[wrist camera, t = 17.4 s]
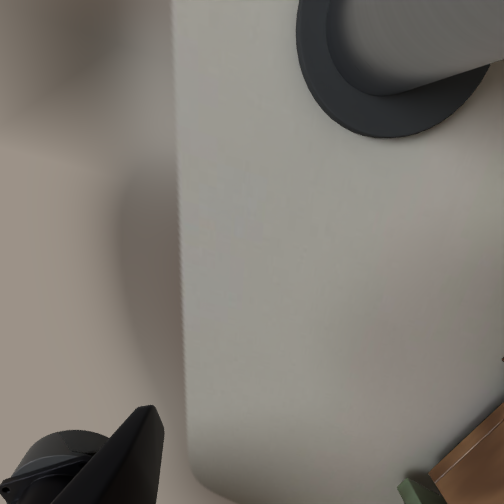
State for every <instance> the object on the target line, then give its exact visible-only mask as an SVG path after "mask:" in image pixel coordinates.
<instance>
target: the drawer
mask: <svg viewBox="0 0 504 504" xmlns="http://www.w3.org/2000/svg"><path fill="white" fill-rule="evenodd" d="M428 474H429V475H430V477H431V478H432V480H433V482H434V483H435V484H436V486H437V488H438V489H439V491H440V492H441V494H442V496H443V497H442V496H440V495H439V494H437V493H435V492H433V491H431V490H429V489H427V488H426V487H424V486H422V485H420V484H418V483H416V482H414V481H413V480H411V479H409V478H406V479H405V480H404V481H403V482H402V483H401V484H400V485H399V486H398V487H397V489H398V491H399V493H400V495H401V497H402V499H403V501H404V503H405V504H504V402H503V403H502V404H501V405H500V406H499V407H498V408H497V409H496V410H495V411H494V412H492V413H491V414H490V415H489V416H488V417H487V418H486V419H485V420H484V421H483V422H482V423H481V424H480V425H479V426H478V427H476V428H475V429H474V430H473V431H472V432H471V433H470V434H469V435H468V436H467V437H466V438H465V439H464V440H463V441H462V442H460V443H459V444H458V445H457V446H456V447H455V448H454V449H453V450H452V451H451V452H450V453H449V454H448V455H447V456H446V457H444V458H443V459H442V460H441V461H440V462H439V463H438V464H437V465H436V466H435V467H434V468H433V469H432V470H431V471H430V472H428Z"/></svg>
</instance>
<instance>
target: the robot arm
mask: <svg viewBox="0 0 504 504" xmlns="http://www.w3.org/2000/svg"><path fill="white" fill-rule="evenodd" d="M163 442H164V427H163V424H162V421H161V419H160V417H159V414H158V412H157V410H156V408H155V406H153V405H148V406H141V407H138V408H137V409H135V411H134V412H133V413H132V414H131V415H130V416H129V417H128V418H127V419H126V420H125V422H124V423H123V424H122V425H121V426H120V427H119V428H118V429H117V431H116V432H115V433H114V434H113V435H112V436H111V437H110V438H109V439H108V440H107V442H106V443H105V444H104V445H103V446H102V447H101V448H100V449H99V450H98V452H97V453H96V454H95V455H94V456H93V457H91V456H89V455H82V456H79V457H76V458H72V459H69V460H66V461H63V462H59V463H56V464H53V465H50V466H47V467H43V468H40V469H37V470H34V471H30V472H27V473H24V474H21V475H18V476H14V477H11V478H8V479H5V480H3V482H2V483H1V484H0V494H1V495H2V497H3V498H4V499H5V500H6V502H7V503H8V504H156V498H157V492H158V484H159V475H160V466H161V459H162V451H163Z"/></svg>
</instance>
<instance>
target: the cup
mask: <svg viewBox="0 0 504 504" xmlns="http://www.w3.org/2000/svg"><path fill="white" fill-rule="evenodd" d="M326 36H327V44H328V48H329V53H330V55H331V58H332V61H333V63H334V65H335V67H336V69H337V70H338V72H339V73H340V74H341V76H342V77H343V78H344V79H345V80H346V81H347V82H348V83H349V84H350V85H351V86H353V87H354V88H356V89H358V90H359V91H361V92H364V93H366V94H370V95H375V96H390V95H394V94H398V93H401V92H404V91H407V90H411V89H414V88H417V87H420V86H423V85H426V84H429V83H432V82H435V81H438V80H441V79H444V78H447V77H450V76H453V75H457V74H460V73H463V72H466V71H469V70H472V69H475V68H478V67H481V66H484V65H487V64H490V63H493V62H496V61H499V60H503V59H504V0H331V1H330V4H329V9H328V13H327V22H326Z"/></svg>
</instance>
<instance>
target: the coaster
mask: <svg viewBox="0 0 504 504" xmlns="http://www.w3.org/2000/svg"><path fill="white" fill-rule="evenodd" d="M330 1H331V0H299V6H298V12H297V21H296V45H297V52H298V58H299V63H300V67H301V70H302V74H303V77H304V79H305V81H306V84H307V86H308V88H309V90H310V92H311V94H312V95H313V97H314V99H315V100H316V102H317V103H318V104H319V106H320V107H321V108H322V109H323V111H324V112H325V113H326V114H327V115H328V116H330V117H331V118H332V119H333V120H334V121H335V122H337V123H338V124H340V125H341V126H342V127H344V128H346V129H348V130H350V131H352V132H355V133H357V134H360V135H363V136H368V137H374V138H396V137H405V136H409V135H413V134H417V133H419V132H422V131H424V130H427V129H429V128H431V127H433V126H435V125H437V124H439V123H440V122H442V121H443V120H445V119H446V118H447V117H449V116H450V115H452V114H453V113H454V112H455V111H456V110H457V109H458V108H459V107H460V106H462V105H463V103H464V102H465V101H466V100H467V99H468V98H469V97H470V96H471V95H472V93H473V92H474V91H475V89H476V88H477V86H478V85H479V84H480V82H481V81H482V79H483V77H484V75H485V74H486V72H487V70H488V68H489V66H490V64H491V63H490V64H487V65H484V66H481V67H478V68H475V69H472V70H469V71H466V72H463V73H460V74H457V75H453V76H450V77H447V78H444V79H441V80H438V81H435V82H432V83H429V84H426V85H423V86H420V87H417V88H414V89H411V90H407V91H404V92H401V93H398V94H394V95H390V96H375V95H370V94H366V93H364V92H361V91H359V90H358V89H356V88H354V87H353V86H351V85H350V84H349V83H348V82H347V81H346V80H345V79H344V78H343V77H342V76H341V74H340V73H339V72H338V70H337V69H336V67H335V65H334V63H333V61H332V58H331V55H330V53H329V48H328V44H327V36H326V22H327V13H328V9H329V4H330Z"/></svg>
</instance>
